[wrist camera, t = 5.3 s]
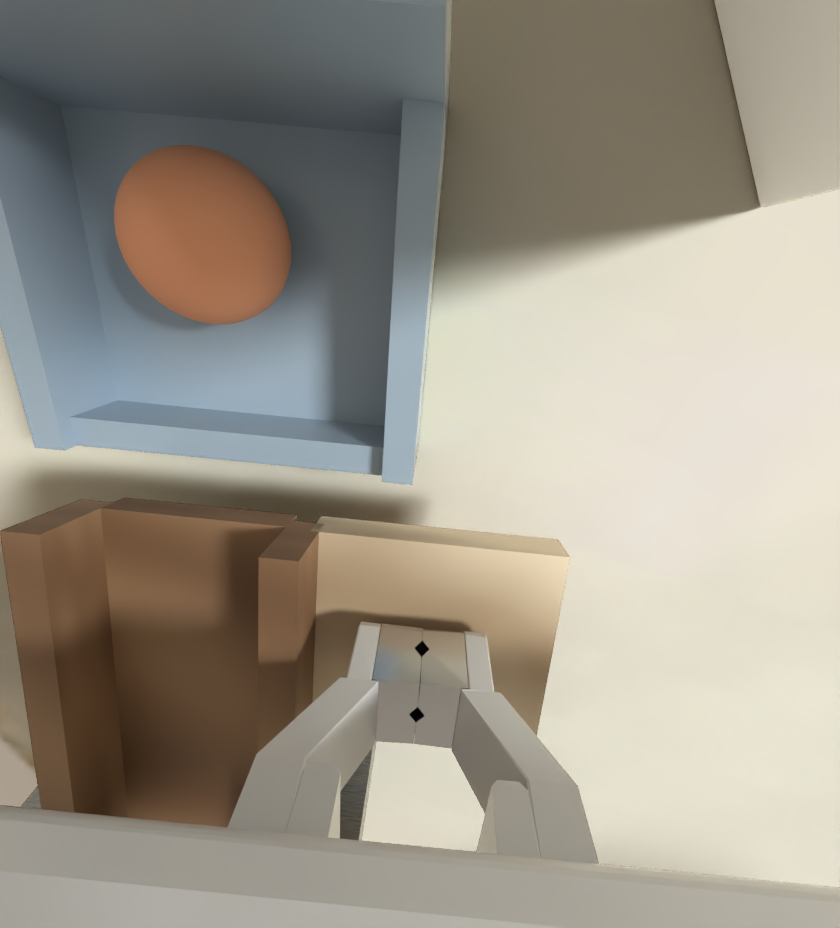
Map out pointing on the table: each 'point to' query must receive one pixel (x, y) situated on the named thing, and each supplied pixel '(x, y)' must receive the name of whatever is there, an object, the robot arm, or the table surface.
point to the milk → (786, 92)
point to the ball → (202, 234)
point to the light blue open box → (286, 177)
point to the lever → (236, 636)
